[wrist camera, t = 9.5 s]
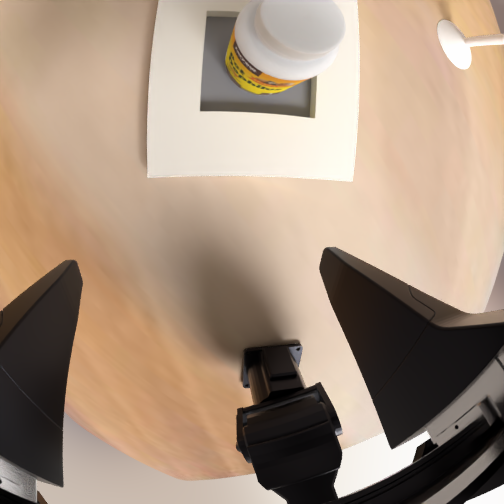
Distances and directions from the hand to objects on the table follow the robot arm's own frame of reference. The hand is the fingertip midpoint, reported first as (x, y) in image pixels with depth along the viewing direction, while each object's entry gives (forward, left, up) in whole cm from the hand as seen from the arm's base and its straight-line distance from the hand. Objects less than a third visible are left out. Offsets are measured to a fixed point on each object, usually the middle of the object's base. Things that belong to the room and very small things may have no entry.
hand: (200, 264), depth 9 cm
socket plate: (+10, -4, -13) cm, 17 cm away
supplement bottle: (+10, -4, -13) cm, 17 cm away
